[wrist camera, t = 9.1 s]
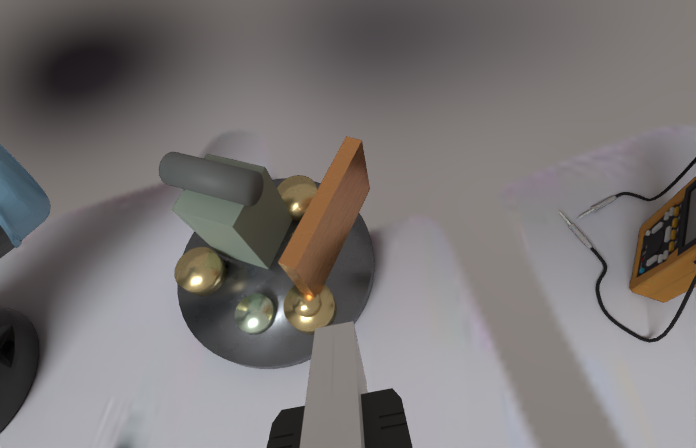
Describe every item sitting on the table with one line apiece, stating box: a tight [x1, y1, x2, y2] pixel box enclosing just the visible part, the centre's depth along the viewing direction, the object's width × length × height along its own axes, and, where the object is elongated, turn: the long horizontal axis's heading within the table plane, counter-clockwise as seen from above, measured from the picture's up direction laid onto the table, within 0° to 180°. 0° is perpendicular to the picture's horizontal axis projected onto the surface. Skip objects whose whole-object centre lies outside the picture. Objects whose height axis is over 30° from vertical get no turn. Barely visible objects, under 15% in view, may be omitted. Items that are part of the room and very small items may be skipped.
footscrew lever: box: [278, 137, 370, 335], centre depth 33 cm, size 15×4×10 cm, turn 156°
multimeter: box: [558, 158, 696, 343], centre depth 28 cm, size 15×10×20 cm
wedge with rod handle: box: [159, 152, 292, 269], centre depth 35 cm, size 8×6×12 cm
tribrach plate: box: [175, 175, 374, 369], centre depth 39 cm, size 20×20×4 cm
